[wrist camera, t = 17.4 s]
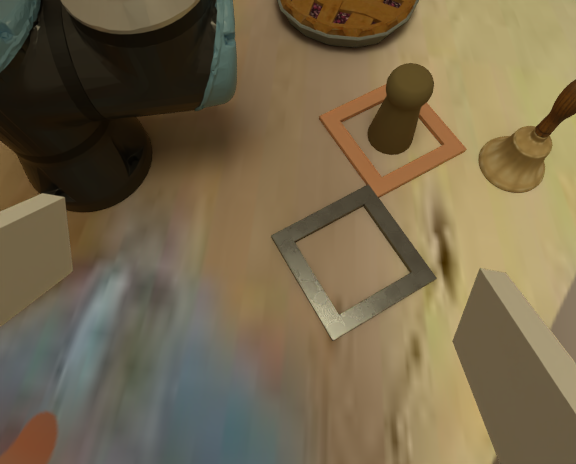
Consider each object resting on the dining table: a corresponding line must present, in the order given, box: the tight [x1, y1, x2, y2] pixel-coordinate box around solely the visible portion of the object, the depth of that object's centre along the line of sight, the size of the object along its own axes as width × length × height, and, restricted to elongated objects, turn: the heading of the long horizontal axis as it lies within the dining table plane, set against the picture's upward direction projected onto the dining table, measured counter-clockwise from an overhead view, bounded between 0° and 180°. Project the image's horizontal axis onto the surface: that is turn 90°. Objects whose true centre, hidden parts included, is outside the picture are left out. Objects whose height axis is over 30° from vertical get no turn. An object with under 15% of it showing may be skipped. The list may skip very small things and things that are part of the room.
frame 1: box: [319, 85, 466, 198], centre depth 53 cm, size 14×14×1 cm
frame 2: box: [271, 184, 437, 341], centre depth 47 cm, size 14×14×1 cm
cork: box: [368, 63, 434, 155], centre depth 48 cm, size 6×6×11 cm
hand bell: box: [479, 80, 576, 193], centre depth 44 cm, size 8×8×16 cm
